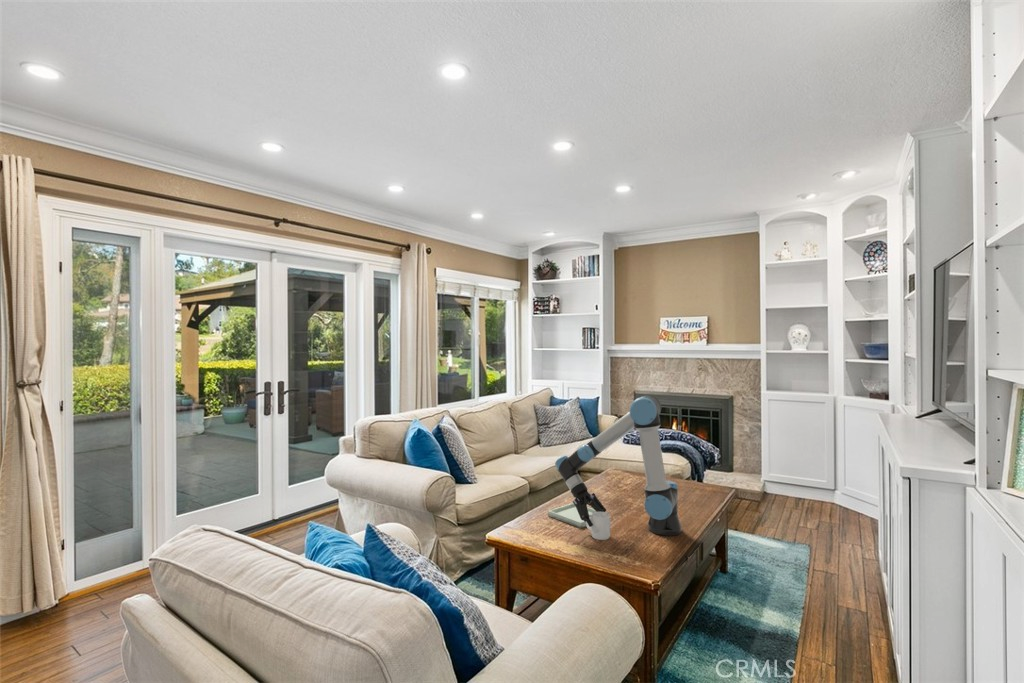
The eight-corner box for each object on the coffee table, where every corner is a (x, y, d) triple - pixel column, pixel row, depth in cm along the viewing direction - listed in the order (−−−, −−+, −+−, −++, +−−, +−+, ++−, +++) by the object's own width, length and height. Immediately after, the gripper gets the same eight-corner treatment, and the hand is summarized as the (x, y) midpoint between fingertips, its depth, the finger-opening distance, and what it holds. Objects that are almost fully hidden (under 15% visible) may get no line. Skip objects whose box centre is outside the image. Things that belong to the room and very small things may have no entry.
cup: (604, 541, 226) (604, 519, 226) (580, 535, 234) (581, 513, 233) (613, 536, 232) (613, 514, 232) (590, 529, 240) (590, 508, 240)
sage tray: (607, 518, 255) (607, 513, 255) (580, 528, 242) (580, 522, 242) (574, 507, 272) (574, 502, 272) (547, 515, 259) (547, 510, 259)
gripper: (587, 486, 252) (612, 528, 240) (557, 495, 238) (583, 539, 226) (595, 478, 247) (622, 520, 236) (565, 486, 234) (592, 531, 222)
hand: (603, 529), depth 231 cm, fingers closed on cup, 8 cm apart
